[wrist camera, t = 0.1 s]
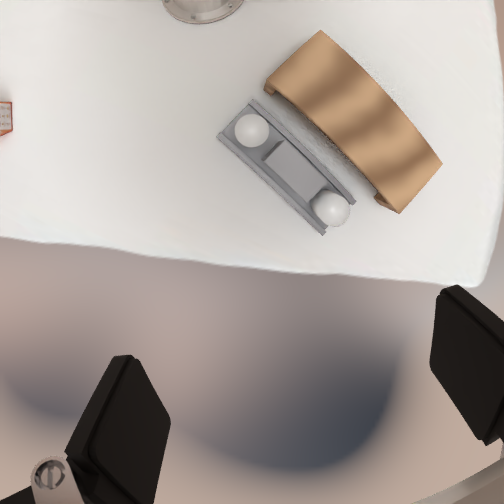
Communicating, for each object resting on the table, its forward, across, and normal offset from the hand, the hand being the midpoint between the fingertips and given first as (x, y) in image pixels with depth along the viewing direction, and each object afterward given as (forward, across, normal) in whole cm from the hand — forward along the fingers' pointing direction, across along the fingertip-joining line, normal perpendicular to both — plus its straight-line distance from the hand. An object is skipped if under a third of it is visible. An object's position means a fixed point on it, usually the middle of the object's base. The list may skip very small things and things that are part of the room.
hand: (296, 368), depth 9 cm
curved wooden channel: (+37, -15, -7) cm, 41 cm away
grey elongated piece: (+37, -5, -3) cm, 38 cm away
